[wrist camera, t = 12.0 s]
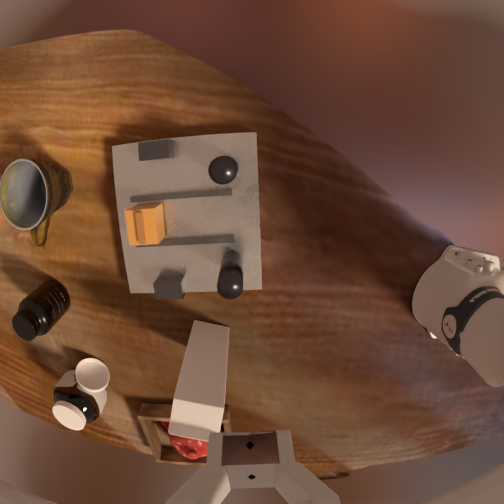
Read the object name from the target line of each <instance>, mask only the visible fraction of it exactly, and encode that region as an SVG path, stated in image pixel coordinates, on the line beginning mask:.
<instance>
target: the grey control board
mask: <svg viewBox="0 0 504 504" xmlns="http://www.w3.org/2000/svg"><path fill="white" fill-rule="evenodd" d="M112 155H113V169H114V181H115V192H116V201H117V210H118V219H119V226H120V234H121V241H122V247H123V254H124V260H125V266H126V272H127V277H128V283H129V288H130V293H155V298H156V300H168V299H183V298H184V296H185V293H186V292H207V291H218V293H219V294H220V295H221V296H222V297H224V298H226V299H234V298H237V297H238V296H240V294H241V293H242V291H243V290H256V289H262V273H261V242H260V213H259V185H258V159H257V134H256V132H247V133H227V134H211V135H198V136H187V137H177V138H168V139H159V140H151V141H143V142H136V143H129V144H122V145H116V146H112ZM159 203H162V205H163V215H164V225H165V234H166V236H165V237H164V238H163V240H162V241H161V242H160V243H159V244H152V245H134V246H130V245H129V238H128V231H127V223H126V215H125V210H127V209H129V208H131V207H133V206H135V205H147V204H159Z"/></svg>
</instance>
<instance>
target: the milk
mask: <svg viewBox="0 0 504 504" xmlns="http://www.w3.org/2000/svg"><path fill="white" fill-rule="evenodd" d="M228 342H229V327H226V326H221V325H216V324H211V323H207V322H202V321H197V320H194V322H193V326H192V330H191V333H190V337H189V341H188V344H187V348H186V352H185V356H184V360H183V363H182V367H181V371H180V375H179V379H178V383H177V387H176V391H175V395H174V399H173V404H172V411H171V417H170V423H169V428H168V433H169V434H172V435H177V436H181V437H186V438H191V439H197V440H202V441H209V434H210V432H215V433H220V428H221V423H222V418H223V413H224V404H225V388H226V372H227V357H228Z"/></svg>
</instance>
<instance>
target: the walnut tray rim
mask: <svg viewBox="0 0 504 504" xmlns="http://www.w3.org/2000/svg"><path fill="white" fill-rule="evenodd" d="M171 411H172V405H169V404H152V403H142V404H141V407H140V409H139V412H138V415H137V417H138V419H139V422H140V424H141V427H142V429H143V432H144V434H145V436H146V439H147V441H148V443H149V445H150V448H151V450H152V452H153V454H154V456H155V459H156V461H157V462H160V463H171V464H184V465H206V462H207V456H205V457H200V458H197V459H189V458H187V457H184V456H183V455H181V454H180V453H179V452H178V451H177V450H176V449H170V448H163V447H162V444H161V442H160V439H159V437H158V434H157V431H156V429H155V426H154V423H153V421H167V422H170V417H171ZM152 420H153V421H152ZM222 423H223V425H224V431H225V433H232V427H231V420H230V412H229V405H224V413H223V418H222Z"/></svg>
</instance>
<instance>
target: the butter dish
mask: <svg viewBox="0 0 504 504" xmlns="http://www.w3.org/2000/svg"><path fill="white" fill-rule="evenodd" d="M169 423H170V422H167V421H162V424H163V425H164V427H165V428H166V430H167V431H168V428H169ZM220 433H224V432H223V430H222V429H221V428H220ZM169 439H170V442H171V443H172V445H173V446H174V447H175V449H176V450H177V451H178V452H179V453H180V454H181V455H183V456H184V457H187V458H189V459H197V458H200V457H205V456H207V451H208V441H202V440H197V439H191V438H186V437H181V436H177V435H172V434H169Z"/></svg>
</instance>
